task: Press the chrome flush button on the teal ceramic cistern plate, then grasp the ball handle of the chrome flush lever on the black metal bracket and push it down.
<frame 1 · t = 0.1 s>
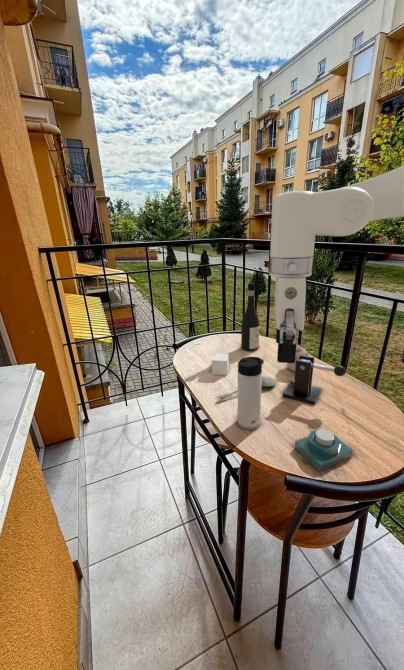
hand: (284, 351, 57), 28 cm above the table, tool pointing down, fingers open, 9 cm apart
cistern plate: (322, 452, 68), on the table
travel mug: (249, 424, 79), on the table
soupspoon: (247, 391, 95), on the table
flush lever: (322, 367, 85), point 11 cm above the table, hinge at 0.0°
lever bracket: (301, 394, 92), on the table
cupcake: (296, 369, 108), on the table
wine bottle: (250, 348, 129), on the table
flush button: (324, 437, 66), point 4 cm above the table, slide at 0.1 cm
white cube: (220, 371, 109), on the table
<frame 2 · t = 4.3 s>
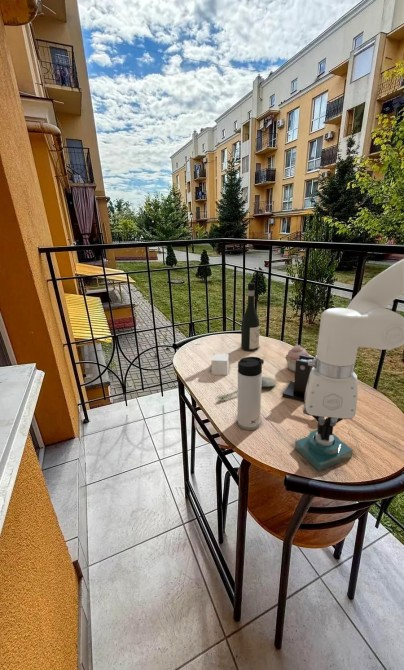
hand: (323, 435, 66), 5 cm above the table, tool pointing down, fingers closed
flush button: (324, 439, 66), point 4 cm above the table, slide at -0.3 cm, touching gripper
everything else where it was.
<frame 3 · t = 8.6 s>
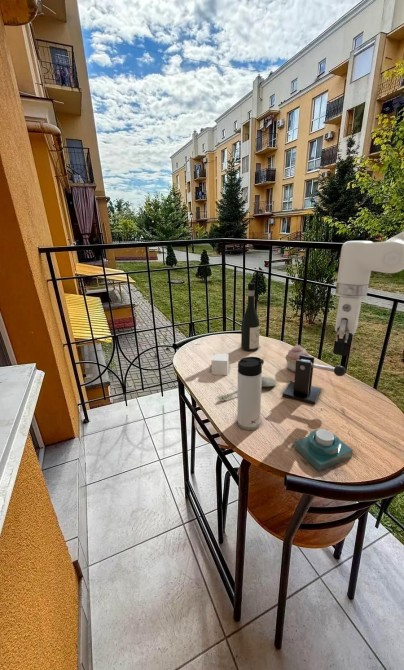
hand: (341, 348, 81), 18 cm above the table, tool pointing down, fingers open, 9 cm apart
flush button: (324, 437, 66), point 4 cm above the table, slide at 0.1 cm
everything else where it was.
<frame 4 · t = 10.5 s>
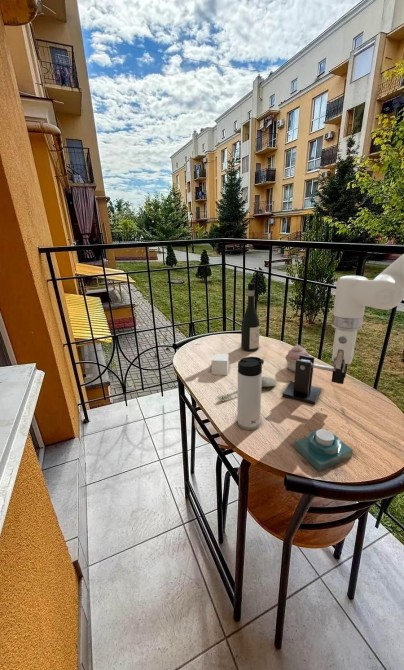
hand: (338, 379, 84), 8 cm above the table, tool pointing down, fingers closed on flush lever, 3 cm apart
flush lever: (322, 367, 85), point 11 cm above the table, hinge at 0.0°, touching gripper
everything else where it was.
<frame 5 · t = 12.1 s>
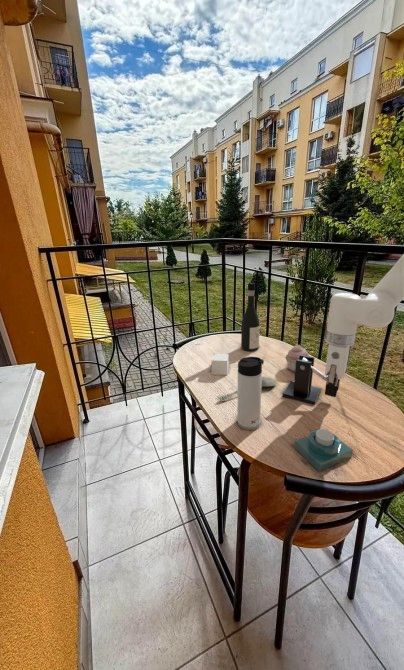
hand: (331, 391, 86), 3 cm above the table, tool pointing down, fingers closed on flush lever, 3 cm apart
flush lever: (319, 373, 87), point 9 cm above the table, hinge at -27.8°, touching gripper
everything else where it was.
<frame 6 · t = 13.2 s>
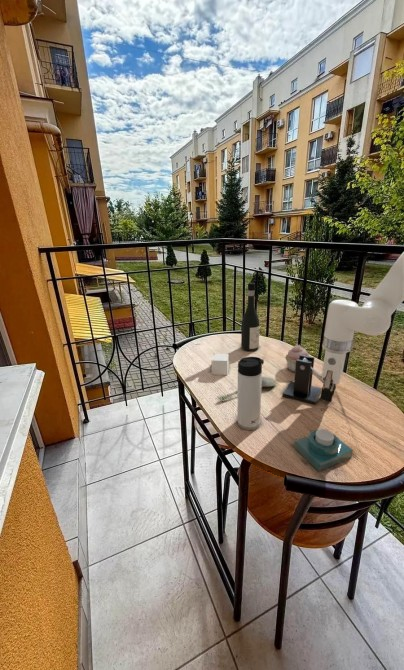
hand: (327, 396, 88), 1 cm above the table, tool pointing down, fingers open, 3 cm apart
flush lever: (317, 375, 87), point 8 cm above the table, hinge at -36.2°
everything else where it was.
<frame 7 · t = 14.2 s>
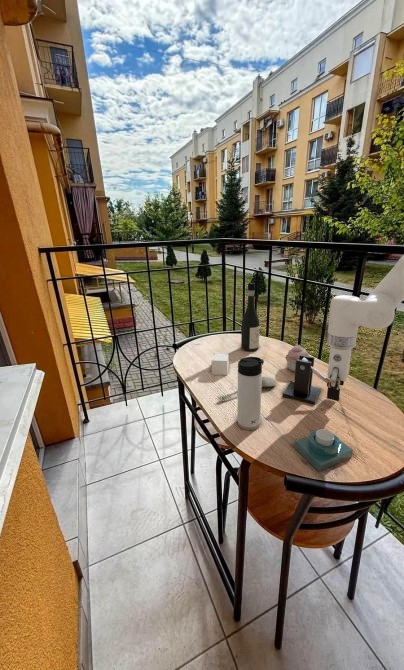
hand: (335, 391, 86), 4 cm above the table, tool pointing down, fingers open, 9 cm apart
flush lever: (318, 374, 87), point 8 cm above the table, hinge at -30.5°
everything else where it was.
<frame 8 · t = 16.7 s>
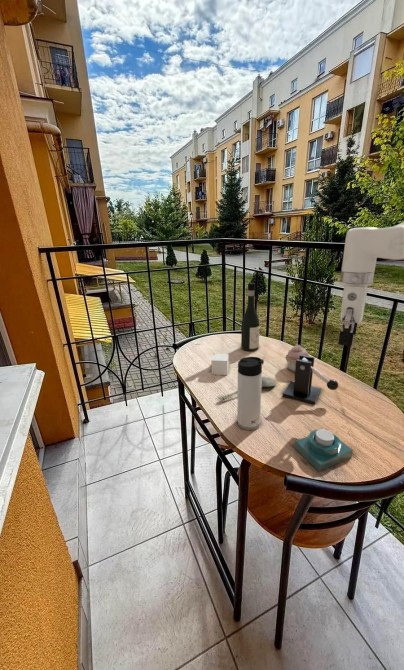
hand: (347, 339, 79), 21 cm above the table, tool pointing down, fingers open, 9 cm apart
nothing on the table moved.
at the end: flush button pushed in 1.1 cm at the most during the clip, back to where it started at the end; flush button slide at 0.1 cm; flush lever at -30° (first picture: +0°) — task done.
